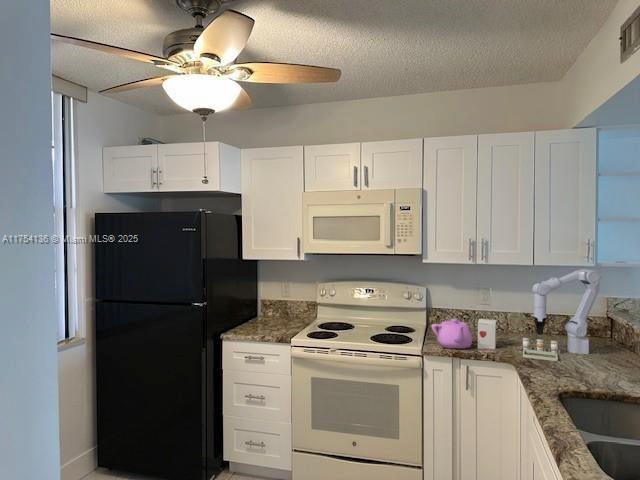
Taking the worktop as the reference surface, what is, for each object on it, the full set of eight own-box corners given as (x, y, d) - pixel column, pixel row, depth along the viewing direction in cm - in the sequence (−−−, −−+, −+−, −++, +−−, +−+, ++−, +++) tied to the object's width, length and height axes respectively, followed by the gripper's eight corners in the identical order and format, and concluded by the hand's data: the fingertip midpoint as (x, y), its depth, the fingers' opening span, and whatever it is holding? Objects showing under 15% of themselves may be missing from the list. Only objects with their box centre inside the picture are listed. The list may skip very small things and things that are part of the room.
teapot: (427, 342, 244) (427, 316, 244) (464, 342, 244) (465, 316, 244) (438, 353, 221) (438, 324, 221) (479, 353, 221) (479, 324, 221)
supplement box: (477, 349, 230) (477, 321, 230) (478, 345, 238) (478, 318, 238) (495, 351, 226) (495, 322, 226) (496, 347, 235) (496, 319, 234)
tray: (556, 357, 215) (556, 352, 215) (557, 363, 205) (557, 358, 205) (523, 353, 222) (523, 349, 222) (522, 358, 212) (522, 354, 212)
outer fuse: (529, 349, 226) (529, 337, 226) (529, 350, 224) (529, 339, 224) (522, 348, 228) (522, 337, 228) (522, 350, 225) (522, 338, 225)
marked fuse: (543, 350, 223) (543, 339, 223) (543, 352, 221) (543, 340, 221) (536, 350, 225) (536, 338, 225) (536, 351, 222) (536, 339, 222)
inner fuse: (557, 352, 220) (557, 340, 220) (557, 353, 218) (557, 342, 218) (550, 351, 222) (550, 340, 222) (550, 353, 219) (550, 341, 219)
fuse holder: (560, 354, 221) (560, 349, 221) (561, 357, 216) (561, 352, 216) (519, 349, 230) (519, 344, 230) (519, 352, 224) (519, 347, 224)
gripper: (531, 304, 231) (531, 329, 231) (531, 308, 218) (531, 335, 218) (546, 305, 228) (546, 330, 228) (547, 309, 215) (546, 336, 215)
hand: (539, 333), depth 223 cm, fingers open, 7 cm apart
